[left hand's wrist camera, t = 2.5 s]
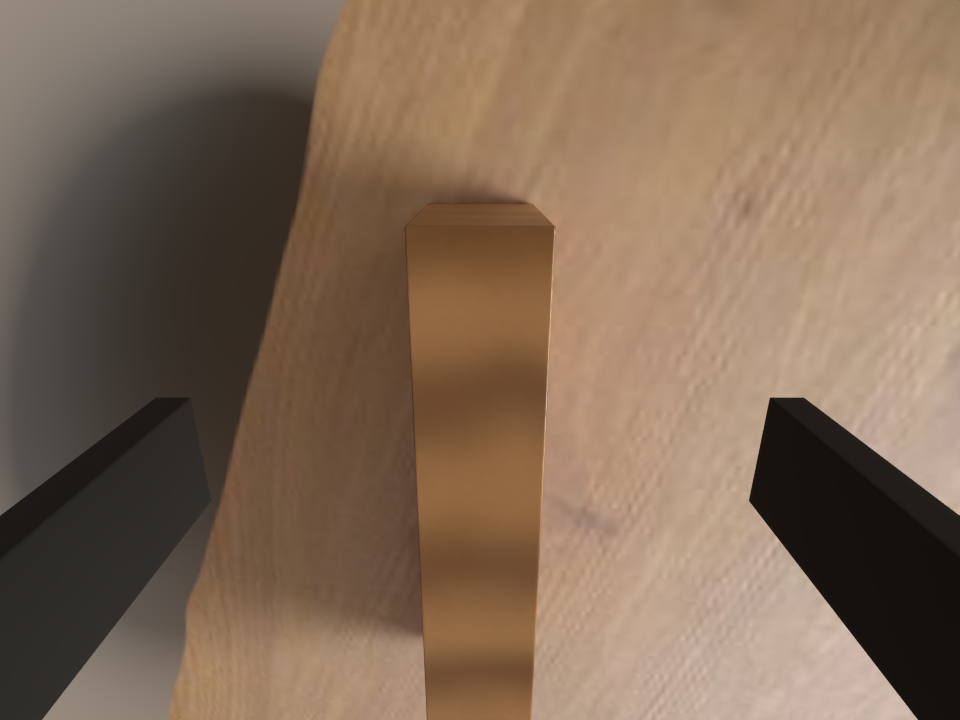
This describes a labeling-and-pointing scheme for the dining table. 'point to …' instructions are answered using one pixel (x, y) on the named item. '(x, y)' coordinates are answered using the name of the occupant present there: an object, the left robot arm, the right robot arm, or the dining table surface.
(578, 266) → the dining table surface
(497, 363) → the bar
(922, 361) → the dining table surface
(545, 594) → the dining table surface
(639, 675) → the dining table surface
